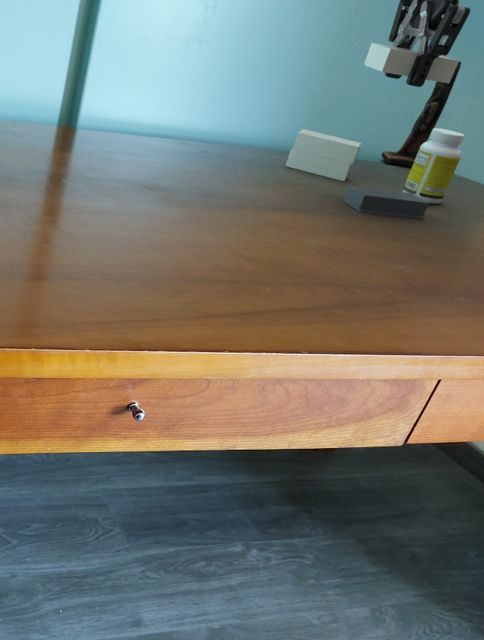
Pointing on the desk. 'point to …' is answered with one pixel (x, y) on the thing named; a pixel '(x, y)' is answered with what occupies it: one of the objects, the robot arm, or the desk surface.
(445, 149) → the pill bottle
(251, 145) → the desk surface
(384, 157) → the statue
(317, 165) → the white stack
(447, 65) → the white block
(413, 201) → the dark gray block
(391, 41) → the robot arm
